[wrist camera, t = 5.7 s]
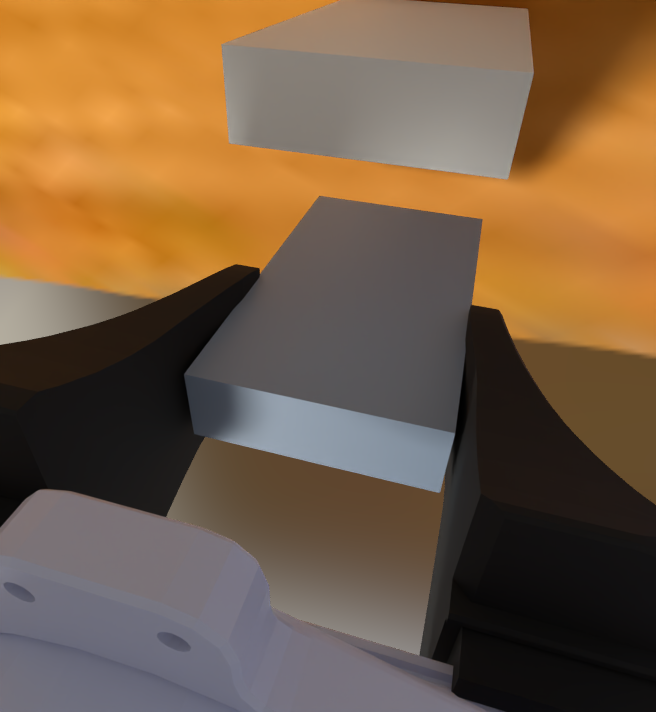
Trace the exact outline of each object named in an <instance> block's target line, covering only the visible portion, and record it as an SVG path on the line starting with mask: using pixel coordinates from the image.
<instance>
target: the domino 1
mask: <svg viewBox="0 0 656 712" xmlns="http://www.w3.org/2000/svg"><path fill="white" fill-rule="evenodd" d="M222 56H223V69H224V82H225V95H226V108H227V121H228V134H229V143H230V144H238V145H245V146H253V147H261V148H269V149H276V150H284V151H292V152H300V153H307V154H315V155H323V156H331V157H338V158H346V159H354V160H362V161H369V162H377V163H385V164H393V165H400V166H408V167H416V168H423V169H431V170H439V171H447V172H454V173H462V174H470V175H478V176H485V177H493V178H501V179H508V177H509V173H510V169H511V165H512V160H513V156H514V152H515V148H516V144H517V140H518V136H519V132H520V128H521V124H522V120H523V116H524V112H525V107H526V103H527V99H528V95H529V91H530V87H531V83H532V79H533V75H534V68H533V57H532V47H531V36H530V25H529V14H528V9H525V8H511V7H497V6H483V5H468V4H454V3H440V2H426V1H411V0H340V1H337V2H334V3H332V4H329V5H326V6H323V7H321V8H318V9H315V10H313V11H310V12H307V13H305V14H302V15H299V16H296V17H294V18H291V19H288V20H286V21H283V22H280V23H278V24H275V25H272V26H270V27H267V28H264V29H261V30H259V31H256V32H253V33H251V34H248V35H245V36H243V37H240V38H237V39H235V40H232V41H229V42H226V43H224V44H222Z"/></svg>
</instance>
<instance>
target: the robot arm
mask: <svg viewBox="0 0 656 712" xmlns="http://www.w3.org/2000/svg"><path fill="white" fill-rule="evenodd" d="M259 277H260V269H259V268H255V267H249V266H243V265H237V264H236V265H233V266H230V267H228V268H226V269H223V270H221V271H219V272H217V273H215V274H213V275H211V276H209V277H207V278H205V279H203V280H200V281H198V282H196V283H194V284H192V285H190V286H188V287H186V288H184V289H182V290H180V291H178V292H176V293H174V294H172V295H169V296H167V297H165V298H162V299H160V300H158V301H156V302H153V303H151V304H149V305H146V306H144V307H142V308H139V309H137V310H134V311H132V312H129V313H127V314H124V315H121V316H118V317H115V318H113V319H109V320H106V321H103V322H100V323H97V324H94V325H90V326H87V327H83V328H79V329H75V330H71V331H67V332H63V333H59V334H55V335H52V336H47V337H42V338H37V339H32V340H27V341H21V342H15V343H9V344H3V345H0V712H656V505H655V504H654V503H652V502H651V501H649V500H648V499H646V498H645V497H644V496H642V495H641V494H640V493H639V492H637V491H636V490H635V489H633V488H632V487H631V486H630V485H629V484H627V483H626V482H625V481H624V480H623V479H622V478H620V477H619V476H618V475H617V474H616V473H615V472H613V471H612V470H611V469H610V468H609V467H608V466H607V465H605V464H604V463H603V462H602V461H601V460H600V459H599V458H598V457H597V456H596V455H595V454H594V453H593V452H592V451H591V450H590V449H589V448H588V447H587V446H586V445H585V444H584V443H583V442H582V441H581V440H580V439H579V438H578V437H577V436H576V435H575V434H574V433H573V432H572V431H571V429H570V428H569V427H568V426H567V425H566V424H565V423H564V422H563V420H562V419H561V418H560V417H559V416H558V414H557V413H556V412H555V410H554V409H553V408H552V407H551V405H550V404H549V403H548V401H547V400H546V398H545V397H544V395H543V394H542V392H541V391H540V389H539V388H538V386H537V385H536V383H535V382H534V380H533V378H532V376H531V375H530V373H529V371H528V370H527V368H526V366H525V364H524V362H523V360H522V359H521V357H520V355H519V353H518V351H517V349H516V347H515V345H514V343H513V341H512V338H511V336H510V334H509V332H508V329H507V327H506V324H505V322H504V319H503V316H502V314H501V313H500V311H499V310H497V309H492V308H486V307H480V306H474V305H471V306H470V310H469V315H468V322H467V330H466V338H465V348H466V353H465V360H464V368H463V376H462V384H461V392H460V400H459V408H458V415H457V423H456V431H455V436H454V440H453V444H452V448H451V451H450V455H449V459H448V463H447V467H446V471H445V491H444V502H443V511H442V518H441V524H440V531H439V537H438V544H437V550H436V557H435V563H434V570H433V576H432V582H431V589H430V594H429V601H428V607H427V613H426V619H425V625H424V631H423V637H422V643H421V649H420V655H419V656H418V655H415V654H412V653H409V652H406V651H402V650H399V649H396V648H392V647H389V646H385V645H382V644H379V643H375V642H372V641H368V640H365V639H362V638H358V637H355V636H352V635H349V634H345V633H342V632H339V631H335V630H332V629H329V628H325V627H322V626H318V625H315V624H312V623H308V622H305V621H302V620H298V619H296V618H294V617H292V616H290V615H288V614H286V613H284V612H282V611H280V610H278V609H276V608H273V607H271V606H270V591H269V584H268V582H267V580H266V578H265V576H264V574H263V572H262V570H261V568H260V566H259V564H258V562H257V560H256V559H255V558H254V557H253V556H252V555H250V554H249V553H248V552H247V551H245V550H244V549H243V548H242V547H241V546H240V545H238V544H237V543H236V542H234V541H233V540H231V539H229V538H226V537H224V536H222V535H220V534H217V533H215V532H213V531H210V530H208V529H206V528H203V527H199V526H196V525H192V524H188V523H185V522H181V521H177V520H174V519H170V518H167V517H166V516H167V513H168V511H169V509H170V507H171V505H172V502H173V500H174V498H175V496H176V494H177V492H178V489H179V487H180V485H181V483H182V480H183V478H184V476H185V474H186V472H187V470H188V468H189V466H190V464H191V462H192V460H193V458H194V456H195V454H196V452H197V450H198V448H199V446H200V444H201V442H202V441H203V439H204V438H205V436H201V435H197V434H194V430H193V424H192V418H191V412H190V406H189V401H188V395H187V389H186V383H185V377H184V374H185V372H186V371H187V370H188V368H189V367H190V366H191V364H192V363H193V362H194V360H195V359H196V358H197V356H198V355H199V354H200V352H201V351H202V350H203V349H204V347H205V346H206V345H207V343H208V342H209V341H210V339H211V338H212V337H213V335H214V334H215V333H216V331H217V330H218V329H219V327H220V326H221V325H222V324H223V322H224V321H225V320H226V318H227V317H228V316H229V314H230V313H231V312H232V310H233V309H234V308H235V307H236V306H237V305H238V304H239V303H240V302H241V301H242V299H243V298H244V297H245V296H246V295H247V293H248V292H249V291H250V289H251V288H252V287H253V285H254V284H255V283H256V281H257V280H258V279H259Z"/></svg>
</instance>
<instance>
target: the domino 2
mask: <svg viewBox="0 0 656 712" xmlns="http://www.w3.org/2000/svg"><path fill="white" fill-rule="evenodd" d="M481 227H482V219H477V218H470V217H463V216H456V215H449V214H442V213H435V212H428V211H421V210H414V209H407V208H400V207H393V206H386V205H379V204H372V203H365V202H358V201H351V200H344V199H337V198H330V197H323V196H319V197H318V199H317V200H316V201H315V202H314V204H313V205H312V206H311V208H310V209H309V210H308V212H307V213H306V214H305V216H304V217H303V218H302V220H301V221H300V222H299V224H298V225H297V226H296V227H295V229H294V230H293V231H292V233H291V234H290V235H289V237H288V238H287V239H286V241H285V242H284V243H283V245H282V246H281V247H280V249H279V250H278V251H277V252H276V254H275V255H274V256H273V258H272V259H271V260H270V262H269V263H268V264H267V266H266V267H265V268H264V270H263V271H262V272H261V274H260V277H259V279H258V280H257V281H256V283H255V284H254V285H253V287H252V288H251V289H250V291H249V292H248V293H247V295H246V296H245V297H244V298H243V299H242V301H241V302H240V303H239V304H238V305H237V306H236V307H235V308H234V309H233V310H232V312H231V313H230V314H229V316H228V317H227V318H226V320H225V321H224V322H223V324H222V325H221V326H220V327H219V329H218V330H217V331H216V333H215V334H214V335H213V337H212V338H211V339H210V341H209V342H208V343H207V345H206V346H205V347H204V349H203V350H202V351H201V352H200V354H199V355H198V356H197V358H196V359H195V360H194V362H193V363H192V364H191V366H190V367H189V368H188V370H187V371H186V372H185V374H184V377H185V383H186V389H187V395H188V401H189V406H190V412H191V418H192V424H193V430H194V434H197V435H201V436H205V437H209V438H213V439H217V440H222V441H226V442H230V443H234V444H238V445H242V446H247V447H251V448H255V449H259V450H263V451H267V452H272V453H276V454H280V455H284V456H288V457H292V458H297V459H301V460H305V461H309V462H313V463H317V464H322V465H326V466H330V467H334V468H338V469H342V470H347V471H351V472H355V473H359V474H363V475H367V476H372V477H376V478H380V479H384V480H389V481H392V482H397V483H401V484H405V485H409V486H413V487H417V488H422V489H426V490H430V491H434V492H438V493H440V490H441V486H442V482H443V478H444V474H445V471H446V467H447V463H448V459H449V455H450V451H451V448H452V444H453V440H454V436H455V431H456V423H457V415H458V408H459V400H460V392H461V384H462V376H463V368H464V360H465V353H466V348H465V338H466V330H467V322H468V315H469V310H470V306H471V305H472V297H473V290H474V282H475V274H476V266H477V258H478V250H479V242H480V235H481Z"/></svg>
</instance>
